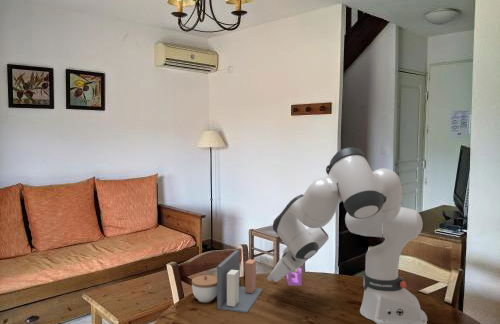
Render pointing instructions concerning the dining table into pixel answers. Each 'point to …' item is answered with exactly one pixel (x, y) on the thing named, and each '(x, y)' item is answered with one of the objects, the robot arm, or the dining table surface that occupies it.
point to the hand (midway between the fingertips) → (268, 278)
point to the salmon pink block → (250, 276)
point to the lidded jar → (204, 287)
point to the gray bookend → (244, 298)
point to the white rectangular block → (232, 287)
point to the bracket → (297, 279)
